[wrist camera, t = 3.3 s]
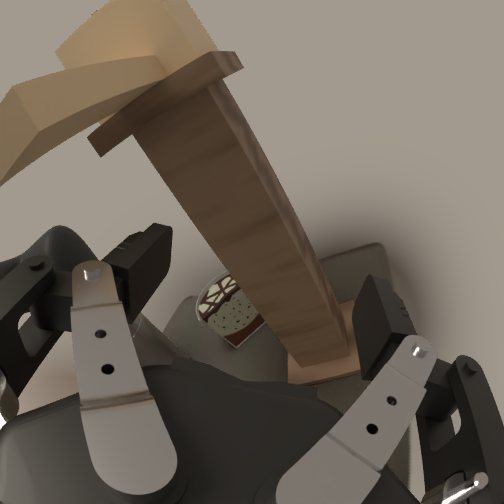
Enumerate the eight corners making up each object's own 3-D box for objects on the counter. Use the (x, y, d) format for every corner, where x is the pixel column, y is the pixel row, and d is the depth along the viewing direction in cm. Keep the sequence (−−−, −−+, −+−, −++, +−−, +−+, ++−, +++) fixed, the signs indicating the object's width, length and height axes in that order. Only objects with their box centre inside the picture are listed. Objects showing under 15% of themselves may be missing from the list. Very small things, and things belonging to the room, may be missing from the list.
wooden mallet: (145, 103, 26) (108, 44, 22) (222, 56, 23) (181, -7, 19) (-23, 218, 9) (-85, 96, 5) (89, 79, 6) (7, -66, 2)
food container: (264, 292, 57) (238, 254, 52) (283, 306, 52) (257, 266, 46) (215, 336, 54) (183, 302, 49) (230, 354, 49) (195, 319, 44)
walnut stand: (289, 323, 48) (145, 104, 28) (355, 303, 44) (234, 51, 25) (290, 389, 38) (86, 137, 19) (368, 370, 35) (210, 50, 15)
